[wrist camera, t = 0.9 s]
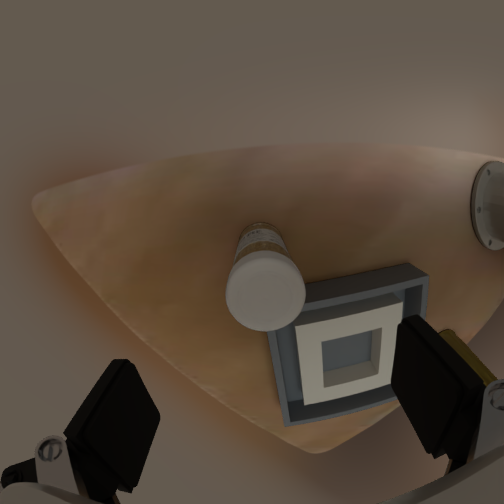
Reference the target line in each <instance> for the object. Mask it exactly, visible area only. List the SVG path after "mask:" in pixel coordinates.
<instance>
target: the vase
mask: <svg viewBox="0 0 504 504" xmlns="http://www.w3.org/2000/svg"><path fill="white" fill-rule="evenodd" d="M439 335H440V336H441V337H442V338H443V339H444V340H445V341H446V342H447V343H448V344H449V345H450V346H451V347H452V348H453V349H454V350H455V351H456V352H457V353H458V354H459V355H460V356H461V357H462V358H463V359H464V360H465V361H466V362H467V363H468V364H469V365H470V367H471V368H472V369H473V370H474V371H475V372H476V373H477V374H478V375H479V376H480V377H481V378H482V380H483V381H484V384H485V385H486V387H487V386H488V385H489V384H490V383H491V382H493V381H496V380H498V379H497V378H496V377H495V376H494V375H493V374H492V373H491V372H490V370H489V369H488V368H487V367H486V366H485V365H484V364H483V363H482V362H481V361H480V360H479V358H478V357H477V356H476V355H475V354H474V353H473V352H472V351H471V350H470V348H469V347H468V346H467V345H466V344H465V343H464V342H463V341H462V340H461V339H460V338H459V337H457V335H456V334H455V332H454V331H452V330H445V331H442V332H441V333H439Z"/></svg>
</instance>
